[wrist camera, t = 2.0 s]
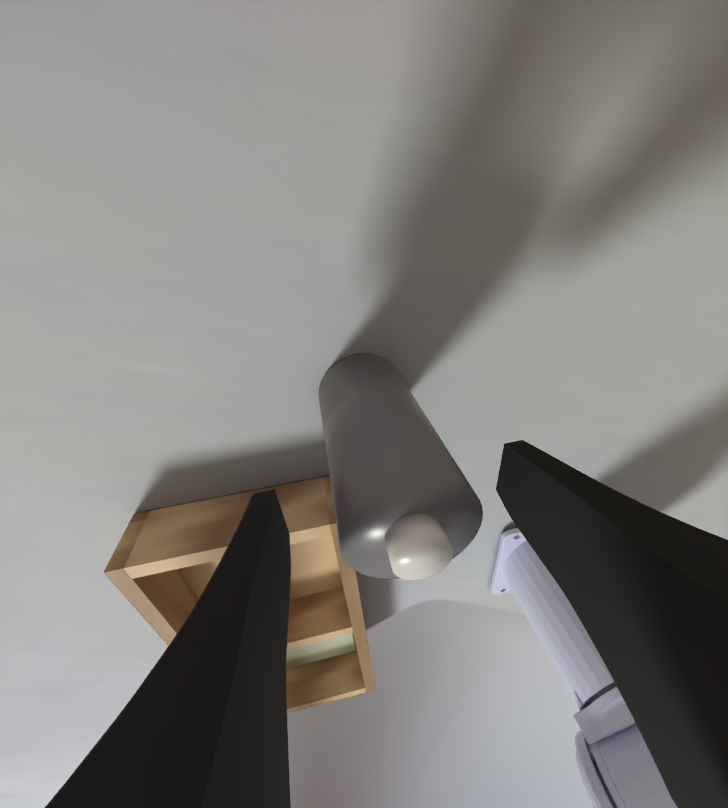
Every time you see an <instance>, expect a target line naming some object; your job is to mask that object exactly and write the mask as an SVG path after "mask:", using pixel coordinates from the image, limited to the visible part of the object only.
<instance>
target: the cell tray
mask: <svg viewBox="0 0 728 808" xmlns="http://www.w3.org/2000/svg"><path fill="white" fill-rule="evenodd" d="M274 489H275V491H276V494H277V497H278V500H279V503H280V506H281V509H282V512H283V515H284V518H285V521H286V525H287V528H288V531H289V534H290V551H291V583H290V602H289V619H288V636H287V653H286V695H287V713H291V712H295V711H298V710H302V709H305V708H309V707H313V706H316V705H320V704H323V703H327V702H331V701H335V700H338V699H342V698H346V697H349V696H353V695H357V694H360V693H364V692H367V691H371V690H375V689H376V687H375V681H374V676H373V669H372V664H371V658H370V652H369V647H368V640H367V635H366V629H365V623H364V617H363V612H362V606H361V600H360V594H359V589H358V583H357V577H356V571H355V570H354V569H352V568H351V567H350V566H349V565H348V564H347V563H346V562H345V560H344V559H343V557H342V554H341V551H340V545H339V538H338V531H337V523H336V516H335V509H334V502H333V495H332V488H331V481H330V476H325V477H319V478H314V479H309V480H304V481H299V482H294V483H289V484H284V485H279V486H273V487H268V488H263V489H258V490H253V491H248V492H243V493H238V494H233V495H227V496H222V497H217V498H212V499H207V500H202V501H197V502H192V503H187V504H181V505H176V506H171V507H166V508H161V509H156V510H151V511H146V512H141V513H135V514H134V515H133V517H132V519H131V521H130V522H129V524H128V526H127V528H126V530H125V532H124V534H123V536H122V538H121V540H120V542H119V544H118V546H117V548H116V550H115V552H114V553H113V555H112V557H111V559H110V561H109V563H108V565H107V567H106V569H105V571H104V574H105V575H106V576H107V577H108V578H109V579H110V581H111V582H112V583H113V584H114V585H115V586H116V587H117V588H118V590H119V591H120V592H121V593H122V594H123V595H124V596H125V597H126V599H127V600H128V601H129V602H130V603H131V604H132V605H133V606H134V608H135V609H136V610H137V611H138V612H139V613H140V614H141V616H142V617H143V618H144V619H145V620H146V621H147V622H148V623H149V625H150V626H151V627H152V628H153V629H154V630H155V631H156V632H157V634H158V635H159V636H160V637H161V638H162V639H163V640H164V642H165V643H166V644H167V645H168V646H169V645H170V643H171V642H172V640H173V639H174V637H175V636H176V634H177V633H178V631H179V630H180V628H181V626H182V625H183V623H184V622H185V620H186V619H187V617H188V615H189V614H190V612H191V611H192V609H193V607H194V606H195V604H196V602H197V601H198V599H199V597H200V596H201V594H202V592H203V590H204V589H205V587H206V585H207V583H208V582H209V580H210V578H211V577H212V575H213V573H214V571H215V570H216V568H217V566H218V564H219V562H220V560H221V558H222V556H223V554H224V553H225V551H226V549H227V547H228V545H229V543H230V541H231V539H232V537H233V535H234V533H235V531H236V529H237V527H238V525H239V523H240V520H241V518H242V516H243V514H244V512H245V510H246V507H247V505H248V503H249V500H250V498H251V496H252V495H253V494H254V493H259V492H264V491H269V490H274Z"/></svg>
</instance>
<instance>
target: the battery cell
mask: <svg viewBox="0 0 728 808" xmlns="http://www.w3.org/2000/svg"><path fill="white" fill-rule="evenodd" d="M319 402H320V409H321V416H322V423H323V430H324V438H325V445H326V452H327V459H328V466H329V473H330V481H331V488H332V495H333V502H334V509H335V516H336V523H337V531H338V538H339V545H340V551H341V554H342V557H343V559H344V560H345V562H346V563H347V564H348V565H349V566H350V567H351V568H352V569H354V570H355V571H357V572H359V573H361V574H363V575H366V576H370V577H374V578H381V579H398V578H401V579H404V580H420V579H424V578H428V577H430V576H433V575H435V574H437V573H438V572H440V571H441V570H443V569H444V568H445V567H446V566H447V565H448V564H449V563H450V561H451V560H452V559H453V558H454V557H456V556H457V555H458V554H459V553H461V552H462V551H463V550H464V549H465V548H466V547H467V546H468V545H469V544H470V543H471V541H472V540H473V539H474V537H475V536H476V534H477V532H478V530H479V528H480V526H481V522H482V516H483V511H482V505H481V502H480V500H479V498H478V497H477V495H476V494H475V492H474V491H473V489H472V487H471V486H470V484H469V483H468V481H467V480H466V478H465V476H464V475H463V473H462V472H461V470H460V469H459V467H458V465H457V464H456V462H455V461H454V459H453V458H452V456H451V455H450V453H449V451H448V450H447V448H446V447H445V445H444V444H443V442H442V440H441V439H440V437H439V436H438V434H437V433H436V431H435V429H434V428H433V426H432V425H431V423H430V422H429V420H428V419H427V417H426V415H425V414H424V412H423V411H422V409H421V408H420V406H419V404H418V403H417V401H416V400H415V398H414V397H413V395H412V393H411V392H410V390H409V389H408V387H407V386H406V384H405V382H404V381H403V379H402V378H401V376H400V375H399V373H398V372H397V370H396V368H395V367H394V366H393V365H392V364H391V363H390V362H389V361H387V360H386V359H384V358H382V357H380V356H377V355H374V354H363V353H362V354H355V355H350V356H348V357H345V358H343V359H341V360H339V361H338V362H336V363H335V364H334V365H332V366H331V367H330V368H329V369H328V371H327V372H326V373H325V375H324V377H323V378H322V381H321V383H320V387H319Z"/></svg>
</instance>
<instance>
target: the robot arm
mask: <svg viewBox="0 0 728 808" xmlns="http://www.w3.org/2000/svg"><path fill="white" fill-rule="evenodd" d="M496 490H497V492H498V494H499V496H500V498H501V500H502V502H503V504H504V506H505V508H506V510H507V511H508V513H509V515H510V517H511V519H512V520H513V521H514V523H515V524H516V526H517V527H518V528H515V529H510V530H507V531H505V532H504V533H503V534H502V536H501V540H500V545H499V550H498V554H497V559H496V564H495V568H494V573H493V578H492V582H491V587H490V591H491V593H492V594H493V595H499V594H503V593H506V592H510V591H512V593H513V595H514V596H515V598H516V600H517V602H518V603H519V605H520V607H521V609H522V610H523V612H524V614H525V616H526V617H527V619H528V621H529V623H530V624H531V626H532V628H533V630H534V631H535V633H536V635H537V637H538V639H539V640H540V642H541V644H542V646H543V647H544V649H545V651H546V653H547V654H548V656H549V658H550V660H551V661H552V663H553V665H554V667H555V668H556V670H557V672H558V673H559V675H560V677H561V679H562V681H563V682H564V684H565V686H566V688H567V689H568V691H569V693H570V695H571V696H572V698H573V700H574V702H575V704H576V705H577V707H578V708H579V710H580V712H578V713H576V714H574V715H573V717H574V719H575V721H576V722H577V724H578V726H579V728H580V730H581V731H579V732H577V734H576V759H577V764H578V768H579V771H580V775H581V778H582V780H583V783H584V786H585V788H586V791H587V793H588V796H589V798H590V800H591V803H592V805H593V806H594V808H728V540H726V539H724V538H721V537H718V536H716V535H713V534H711V533H708V532H706V531H703V530H701V529H698V528H696V527H694V526H691V525H689V524H687V523H684V522H682V521H680V520H677V519H675V518H673V517H670V516H668V515H666V514H663V513H661V512H659V511H657V510H655V509H652V508H650V507H648V506H646V505H644V504H642V503H640V502H638V501H636V500H634V499H632V498H630V497H628V496H626V495H623V494H621V493H619V492H617V491H615V490H613V489H612V488H610V487H608V486H606V485H604V484H602V483H600V482H598V481H596V480H594V479H592V478H591V477H589V476H587V475H585V474H583V473H581V472H580V471H578V470H576V469H574V468H572V467H571V466H569V465H567V464H565V463H563V462H562V461H560V460H558V459H556V458H554V457H553V456H551V455H549V454H547V453H545V452H544V451H542V450H540V449H538V448H536V447H534V446H533V445H531V444H529V443H527V442H525V441H523V440H521V441H516V442H511V443H506V444H504V448H503V454H502V459H501V465H500V470H499V476H498V481H497V487H496ZM290 583H291V551H290V534H289V531H288V528H287V525H286V521H285V518H284V515H283V512H282V509H281V506H280V503H279V500H278V497H277V494H276V491H275V489H274V490H269V491H264V492H259V493H254V494H253V495H252V496H251V498H250V500H249V503H248V505H247V507H246V510H245V512H244V514H243V516H242V518H241V520H240V523H239V525H238V527H237V529H236V531H235V533H234V535H233V537H232V539H231V541H230V543H229V545H228V547H227V549H226V551H225V553H224V554H223V556H222V558H221V560H220V562H219V564H218V566H217V568H216V570H215V571H214V573H213V575H212V577H211V578H210V580H209V582H208V583H207V585H206V587H205V589H204V590H203V592H202V594H201V596H200V597H199V599H198V601H197V602H196V604H195V606H194V607H193V609H192V611H191V612H190V614H189V615H188V617H187V619H186V620H185V622H184V623H183V625H182V626H181V628H180V630H179V631H178V633H177V634H176V636H175V637H174V639H173V640H172V642H171V643H170V645H169V646H168V648H167V649H166V651H165V652H164V654H163V655H162V656H161V658H160V659H159V661H158V662H157V663H156V665H155V666H154V668H153V669H152V670H151V672H150V673H149V675H148V676H147V678H146V679H145V680H144V682H143V683H142V685H141V686H140V687H139V689H138V690H137V692H136V693H135V694H134V696H133V697H132V698H131V700H130V701H129V702H128V704H127V705H126V706H125V708H124V709H123V710H122V712H121V713H120V714H119V716H118V717H117V718H116V720H115V721H114V722H113V723H112V725H111V726H110V727H109V728H108V730H107V731H106V732H105V733H104V735H103V736H102V737H101V739H100V740H99V741H98V742H97V744H96V745H95V746H94V747H93V749H92V750H91V751H90V752H89V754H88V755H87V756H86V757H85V759H84V760H83V761H82V763H81V764H80V765H79V766H78V768H77V769H76V770H75V771H74V773H73V774H72V775H71V776H70V778H69V779H68V780H67V781H66V783H65V784H64V785H63V786H62V788H61V789H60V790H59V791H58V792H57V794H56V795H55V796H54V797H53V798H52V800H51V801H50V802H49V803H48V805H47V806H46V807H45V808H291V807H290V785H289V761H288V733H287V732H288V731H287V695H286V653H287V636H288V619H289V602H290Z"/></svg>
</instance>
